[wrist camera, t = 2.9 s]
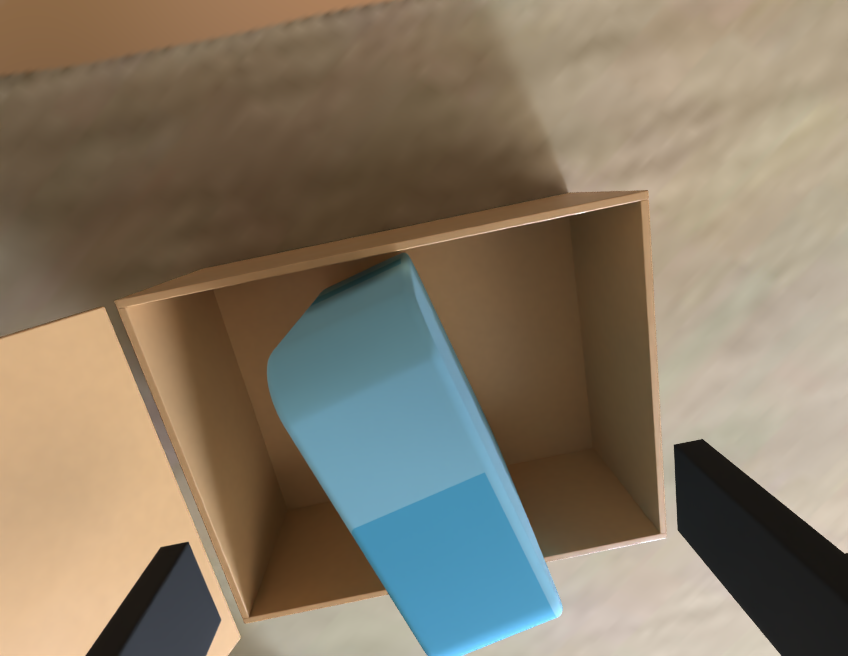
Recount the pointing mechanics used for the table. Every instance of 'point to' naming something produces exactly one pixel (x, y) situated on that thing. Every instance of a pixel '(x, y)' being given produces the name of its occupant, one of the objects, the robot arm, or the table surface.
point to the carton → (479, 357)
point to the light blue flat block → (411, 460)
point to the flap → (81, 490)
